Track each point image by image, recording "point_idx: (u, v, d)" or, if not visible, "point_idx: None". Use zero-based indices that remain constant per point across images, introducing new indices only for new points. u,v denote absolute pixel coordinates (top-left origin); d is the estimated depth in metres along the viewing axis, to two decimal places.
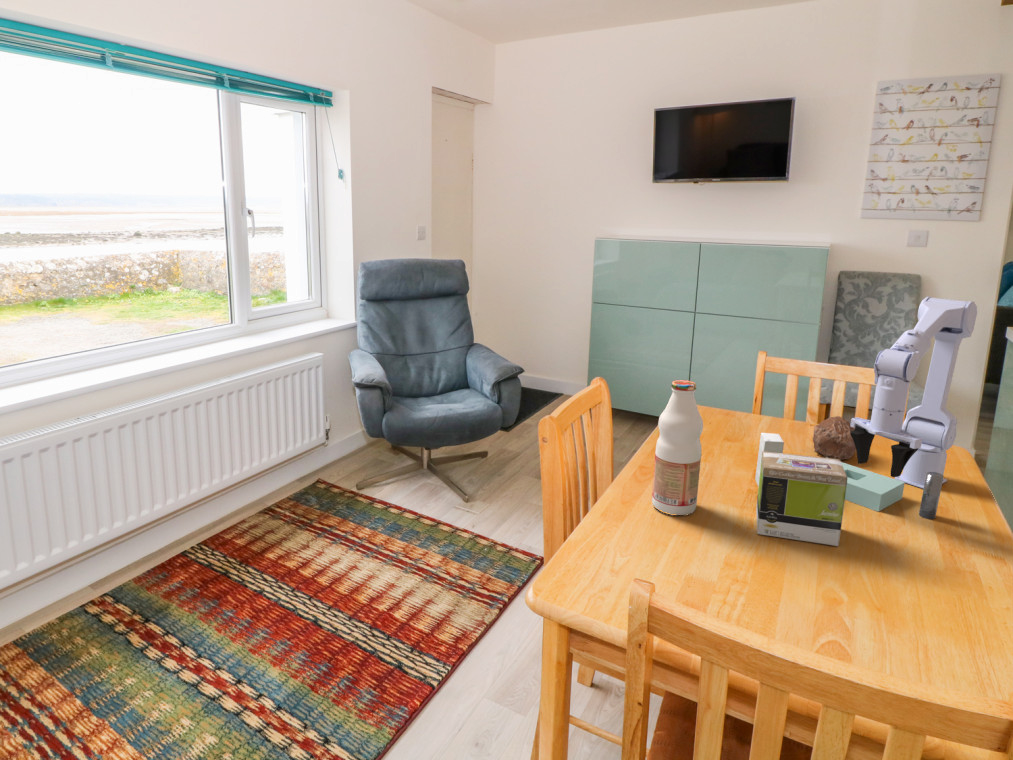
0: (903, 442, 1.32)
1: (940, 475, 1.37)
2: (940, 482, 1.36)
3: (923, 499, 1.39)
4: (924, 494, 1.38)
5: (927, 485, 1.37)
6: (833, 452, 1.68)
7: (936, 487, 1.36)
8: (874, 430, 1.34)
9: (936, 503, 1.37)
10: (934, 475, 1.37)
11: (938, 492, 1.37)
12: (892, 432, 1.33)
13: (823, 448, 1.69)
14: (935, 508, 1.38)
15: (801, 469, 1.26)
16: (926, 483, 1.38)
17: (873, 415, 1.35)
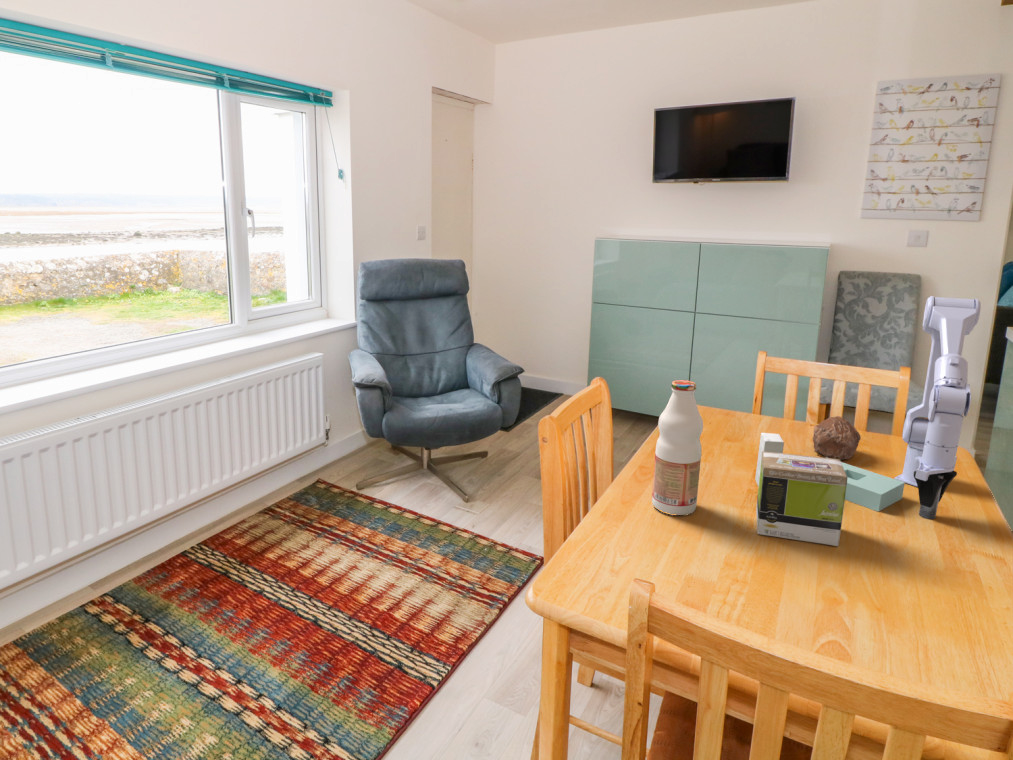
0: None
1: (940, 475, 1.37)
2: None
3: None
4: None
5: None
6: (833, 452, 1.68)
7: None
8: (919, 457, 1.39)
9: (936, 503, 1.37)
10: None
11: (938, 492, 1.37)
12: (924, 463, 1.36)
13: (823, 448, 1.69)
14: (935, 508, 1.38)
15: (801, 469, 1.26)
16: None
17: None
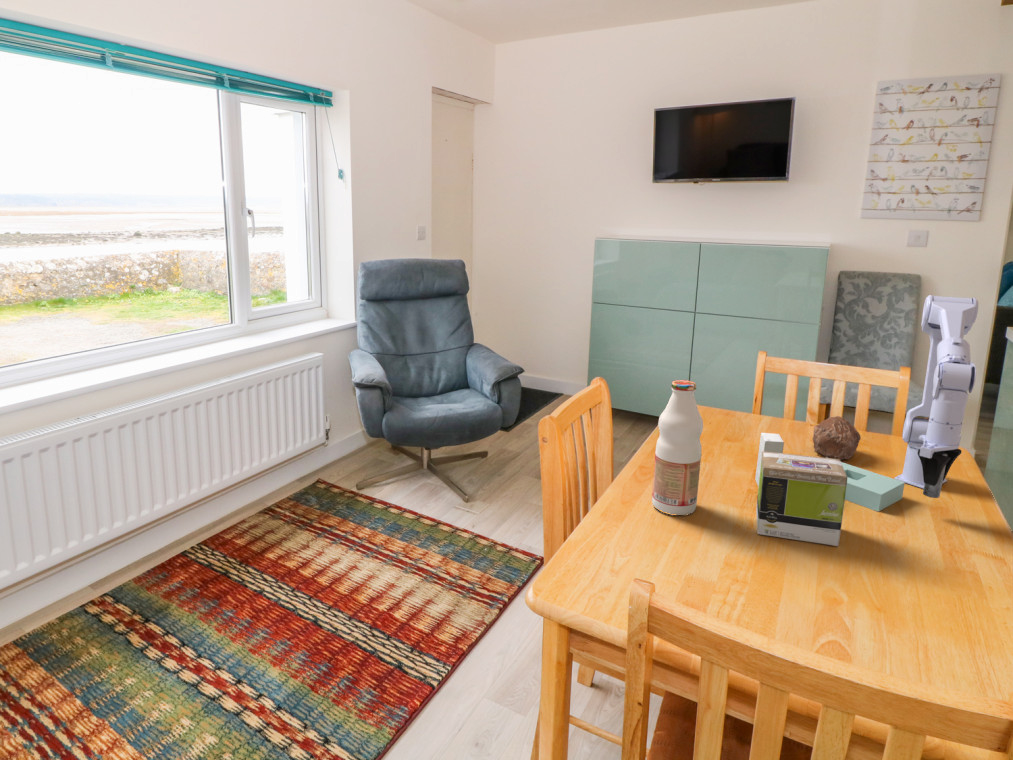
0: None
1: (945, 453, 1.35)
2: None
3: None
4: None
5: None
6: (833, 452, 1.68)
7: None
8: (923, 436, 1.38)
9: (940, 481, 1.36)
10: None
11: (942, 470, 1.35)
12: (929, 440, 1.35)
13: (823, 448, 1.69)
14: (939, 487, 1.36)
15: (801, 469, 1.26)
16: None
17: None
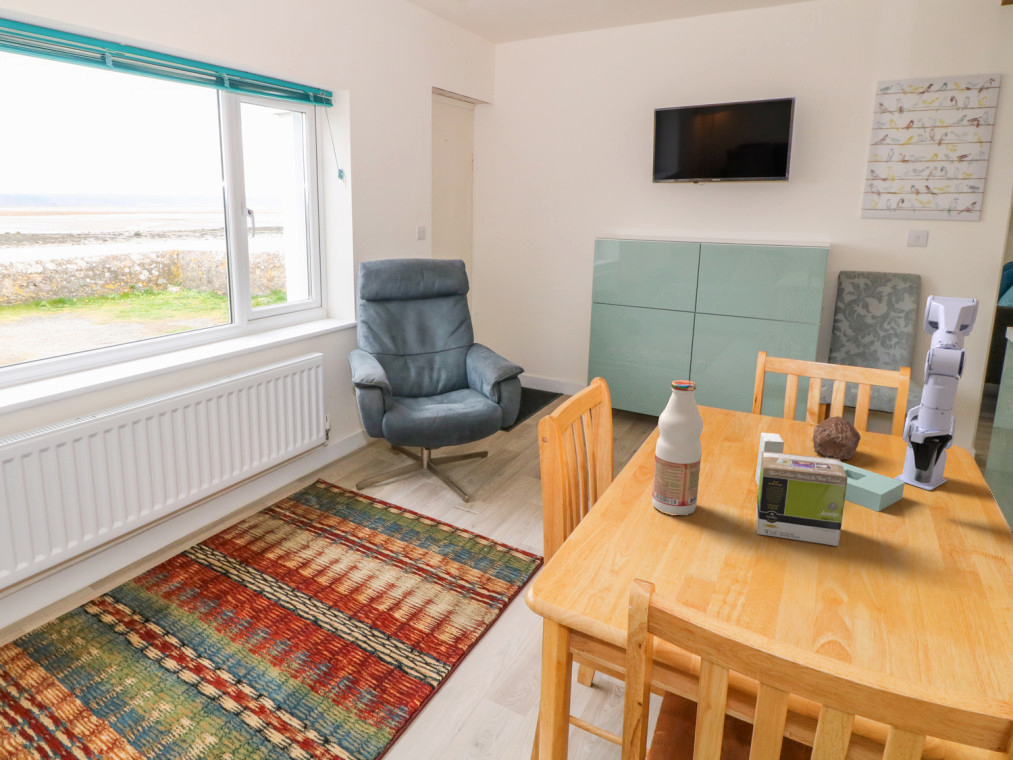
0: None
1: (936, 439, 1.36)
2: None
3: None
4: None
5: None
6: (833, 451, 1.68)
7: None
8: (914, 422, 1.39)
9: (932, 467, 1.37)
10: None
11: (934, 456, 1.36)
12: (920, 426, 1.36)
13: (823, 448, 1.69)
14: (931, 472, 1.37)
15: (801, 469, 1.26)
16: None
17: None
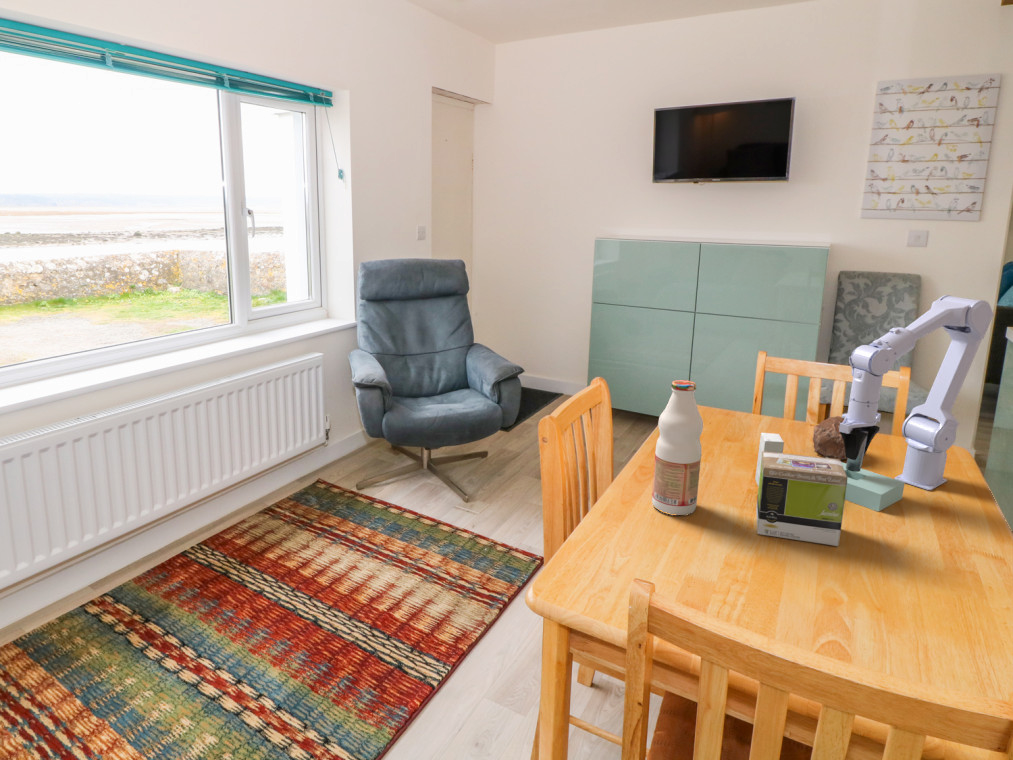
0: None
1: (866, 431, 1.47)
2: None
3: None
4: None
5: None
6: (833, 452, 1.68)
7: None
8: (845, 414, 1.50)
9: (861, 457, 1.48)
10: None
11: (863, 446, 1.47)
12: (849, 418, 1.47)
13: (823, 448, 1.69)
14: (860, 461, 1.48)
15: (801, 469, 1.26)
16: None
17: None
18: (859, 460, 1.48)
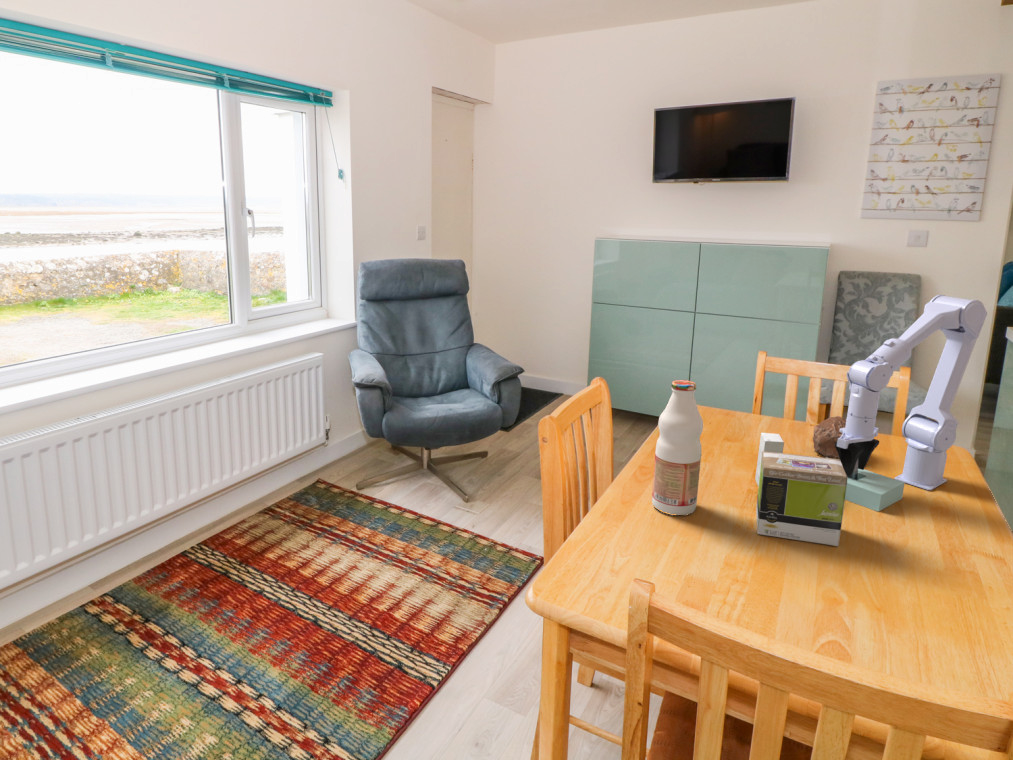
0: None
1: None
2: None
3: None
4: None
5: None
6: (833, 451, 1.68)
7: None
8: (843, 429, 1.50)
9: (855, 476, 1.50)
10: None
11: (856, 465, 1.49)
12: (846, 433, 1.47)
13: (823, 448, 1.69)
14: None
15: (801, 469, 1.26)
16: None
17: None
18: None
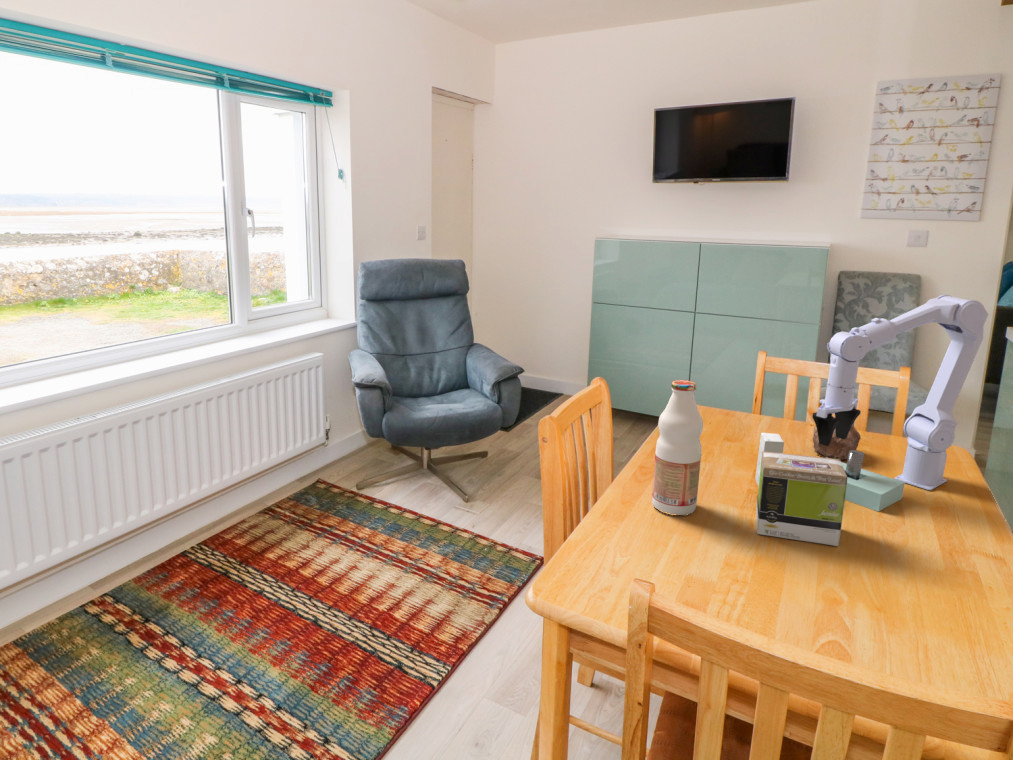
0: None
1: (861, 453, 1.48)
2: (860, 459, 1.48)
3: (846, 475, 1.50)
4: (847, 470, 1.50)
5: (849, 462, 1.49)
6: (833, 451, 1.68)
7: (857, 464, 1.48)
8: (823, 400, 1.53)
9: (857, 479, 1.49)
10: (855, 453, 1.48)
11: (859, 468, 1.48)
12: (826, 403, 1.50)
13: (823, 448, 1.69)
14: None
15: (801, 469, 1.26)
16: (848, 460, 1.49)
17: None
18: None
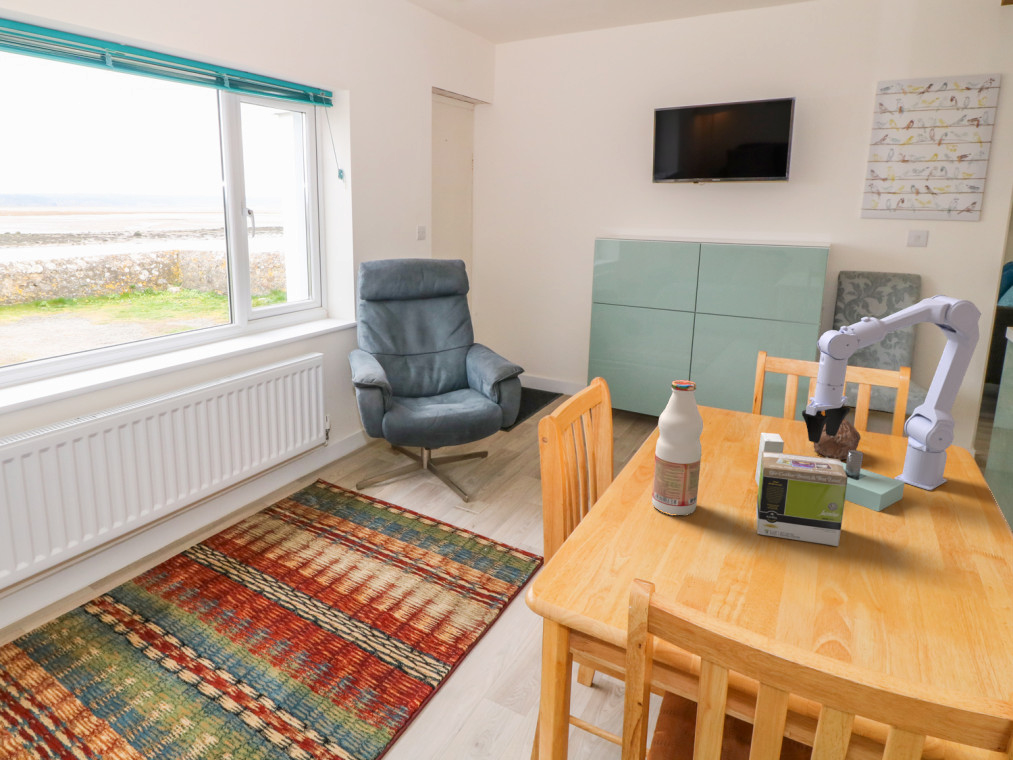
0: None
1: (860, 453, 1.48)
2: (860, 459, 1.48)
3: None
4: (846, 471, 1.50)
5: (849, 462, 1.49)
6: (833, 452, 1.68)
7: (856, 464, 1.48)
8: (813, 397, 1.55)
9: (857, 478, 1.49)
10: (854, 453, 1.48)
11: (858, 468, 1.49)
12: (816, 401, 1.52)
13: (823, 448, 1.69)
14: None
15: (801, 469, 1.26)
16: (848, 460, 1.49)
17: None
18: None
